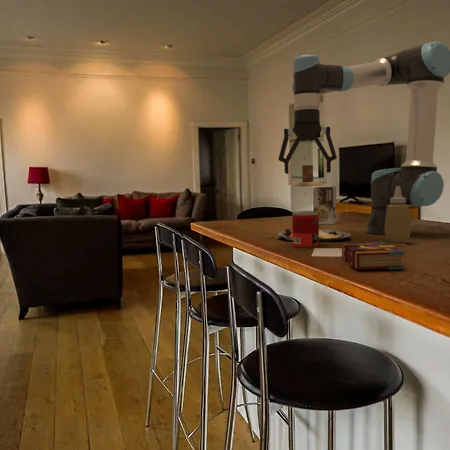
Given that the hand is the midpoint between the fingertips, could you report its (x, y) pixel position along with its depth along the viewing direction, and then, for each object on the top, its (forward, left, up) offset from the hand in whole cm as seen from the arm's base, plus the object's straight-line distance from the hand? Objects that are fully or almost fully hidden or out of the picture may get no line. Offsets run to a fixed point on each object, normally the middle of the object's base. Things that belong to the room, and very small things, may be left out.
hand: (307, 184), depth 154 cm
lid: (0, 0, 0) cm, 0 cm away
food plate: (0, -21, -20) cm, 29 cm away
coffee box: (-2, -70, -20) cm, 72 cm away
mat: (-9, +11, -20) cm, 24 cm away
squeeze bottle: (-27, -12, -20) cm, 36 cm away
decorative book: (-17, +26, -20) cm, 37 cm away
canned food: (+1, -1, -20) cm, 20 cm away
